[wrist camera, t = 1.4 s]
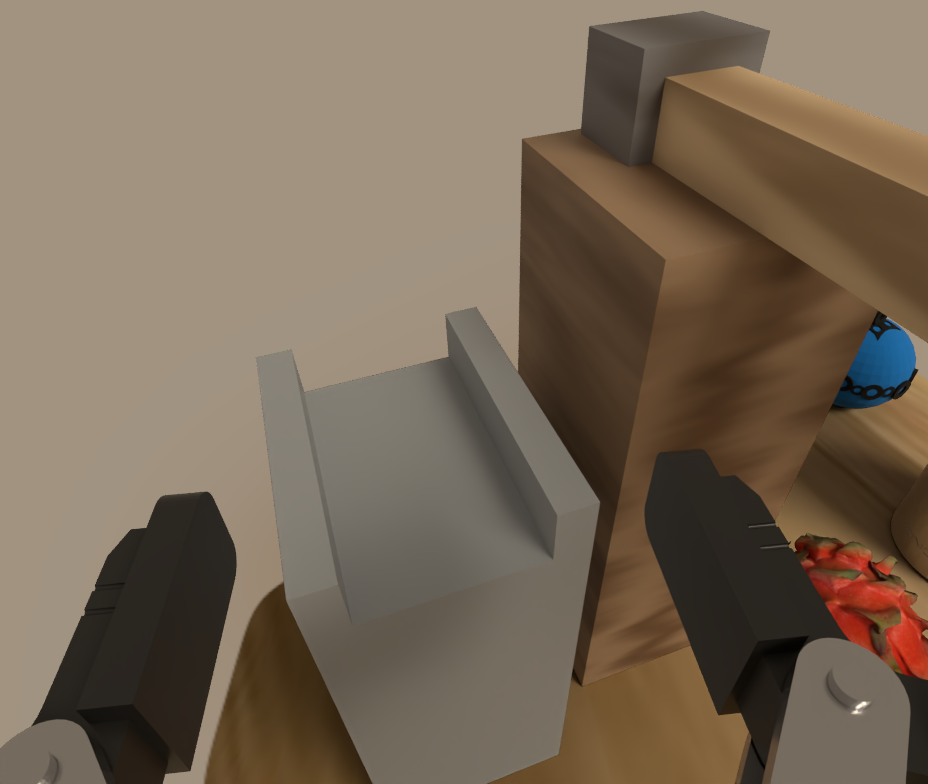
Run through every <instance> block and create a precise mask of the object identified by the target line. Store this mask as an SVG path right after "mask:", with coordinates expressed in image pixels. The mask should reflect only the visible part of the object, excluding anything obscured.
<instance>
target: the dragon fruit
mask: <svg viewBox="0 0 928 784" xmlns="http://www.w3.org/2000/svg"><path fill="white" fill-rule="evenodd" d="M790 543H791V541H790V542H789V543H788V545H789V544H790ZM795 548H796V550H797V551H795V552H794V553H795V555H796V556H797V558H798V560H799V561H800V563H801V564H802V566H803V568H804V569H805V571H806V573H807V574H808V576H809V578H810V579H811V581H812V583H813V584H814V586H815V588H816V589H817V591H818V592H819V594H820V596H821V597H822V599H823V601H824V602H825V604H826V606H827V607H828V609H829V611H830V612H831V614H832V616H833V617H834V619H835V620H836V622H837V624H838V625H839V627H840V628H841V630H842V631H843V633H844V634H845V635H846V636H847V638H848V639H849V640H850V641H851V642H853V643H855V644H858V645H860V646H862V647H864V648H866V649H868V650H869V651H871V652H872V653H874V654H875V655H877V656H878V657H879V658H880V659H881V660H883V661H884V662H885V663H886V664H887V665H888V666H889V667H890V668H891V669H892V670H893V671H896V672H898V673H901V674H904V675H908V676H912V677H916V678H921V679H926V680H928V639H927V638H926V637H925V636H924V635H923V634H922V632H923V631H925V630H926V629H927V630H928V621H927V620H924V619H922V618H920V617H919V616H918V615H917V614H916V613H915V612H914V611H913V610H912V609H911V608H910V605H913V604H914V603H915V602H916V601H917V594H915V593H912V592H909V591H906V590H905V589H906V585H905V583H904V581H902V580H901V578H900V577H898V576H895V575H891V574H890V572H891V570H892V568H893V566H894V564H895V563H898V561H897V560H896V558H894V557H892V556H888V557H886V558H885V559H884V560H882V561H881V562H878V563H875V562H871V560H872V553H871V551H870V550H869V549H868V548H866V547H865V546H863V545H862V544H860V543H856V542H849V543H847V544H844V543H842V542H841V541H839V540H838V539H836V538H828V537H819V536H815V535H812V534H809V533H806V535H805V536H801V537H799V538H798V539H797V540H796V542H795Z"/></svg>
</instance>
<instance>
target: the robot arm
mask: <svg viewBox="0 0 928 784" xmlns="http://www.w3.org/2000/svg"><path fill="white" fill-rule="evenodd" d="M644 517H645V526H646V531H647V535H648V538H649V541H650V543H651V546H652V548H653V551H654V554H655V556H656V559H657V561H658V564H659V566H660V569H661V571H662V574H663V576H664V579H665V581H666V584H667V586H668V589H669V592H670V594H671V597H672V599H673V602H674V604H675V607H676V609H677V612H678V614H679V617H680V619H681V622H682V625H683V627H684V630H685V632H686V635H687V637H688V640H689V642H690V645H691V647H692V650H693V652H694V655H695V657H696V660H697V663H698V665H699V668H700V670H701V673H702V675H703V678H704V680H705V683H706V685H707V688H708V690H709V693H710V695H711V698H712V701H713V703H714V706H715V708H716V711H717V713H718V715H724V714H733V713H741V714H742V716H743V719H744V721H745V723H746V726H747V728H748V730H749V733H748V736H747V738H746V742H745V746H744V750H743V753H742V757H741V761H740V765H739V769H738V773H737V777H736V781H735V784H928V680H926V679H921V678H916V677H912V676H908V675H904V674H901V673H898V672H896V671H893V670H892V669H891V668H890V667H889V666H888V665H887V664H886V663H885V662H884V661H883V660H881V659H880V658H879V657H878V656H877V655H875V654H874V653H872V652H871V651H869V650H868V649H866V648H864V647H862V646H860V645H858V644H855V643H853V642H851V641H850V640H849V639H848V638H847V636H846V635H845V634H844V633H843V631H842V630H841V628H840V627H839V625H838V624H837V622H836V620H835V619H834V617H833V616H832V614H831V612H830V611H829V609H828V607H827V606H826V604H825V602H824V601H823V599H822V597H821V596H820V594H819V592H818V591H817V589H816V588H815V586H814V584H813V583H812V581H811V579H810V578H809V576H808V574H807V573H806V571H805V569H804V568H803V566H802V564H801V563H800V561H799V560H798V558H797V556H796V555H795V553H794V551H793V550H792V548H789V546H788V541H787V540H786V538H785V536H784V535H783V533H782V532H781V530H780V528H779V527H776V525H775V520H774V518H773V517H772V515H771V513H770V512H769V510H768V508H767V507H766V505H765V504H764V502H763V500H762V499H761V497H760V496H759V495H758V494H757V493H756V492H755V491H753V490H752V489H751V488H750V487H749V486H747V485H746V484H745V483H744V482H743V481H742V480H740V479H739V478H738V477H737V476H736V475H731V476H720V475H719V473H718V471H717V469H716V467H715V466H714V464H713V462H712V460H711V459H710V457H709V455H708V454H707V453H706V451H704V450H703V449H691V450H680V451H669V452H660V453H659V454H658V455H657V457H656V461H655V465H654V469H653V473H652V477H651V482H650V486H649V490H648V494H647V499H646V503H645V510H644ZM891 532H892V536H893V538H894V541H895V544H896V546H897V547H898V549H899V550H900V552H901V553H902V555H903V556H904V558H905V559H906V560H907V561H908V562H909V563H910V564H911V565H912V567H913V568H914V569H916V570H917V571H918V572H919V573H920V574H922V575H923V576H924V577H925V578H926V579H928V464H927V466H926V467H925V469H924V470H923V472H922V473H921V474H920V476H919V477H918V478H917V480H916V481H915V483H914V484H913V486H912V487H911V489H910V490H909V492H908V493H907V495H906V496H905V497H904V499H903V500H902V502H901V503H900V505H899V506H898V508H897V509H896V511H895V512H894V513H893V516H892V520H891ZM235 576H236V551H235V547H234V543H233V540H232V538H231V536H230V534H229V532H228V530H227V527H226V525H225V523H224V521H223V518H222V516H221V514H220V512H219V510H218V507H217V505H216V503H215V501H214V499H213V497H212V495H211V494H210V493H209V492H198V493H188V494H176V495H165V496H162V497H161V498H160V499H159V500H158V501H157V503H156V505H155V507H154V510H153V512H152V515H151V518H150V520H149V523H148V525H147V528H141V529H131V530H130V531H129V532H128V533H127V534H126V536H125V537H124V538H123V539H122V540H121V541H120V542H119V544H118V545H117V546H116V547H115V549H114V550H112V552H111V553H110V554H109V555H108V556H107V559H106V561H105V563H104V566H103V568H102V570H101V572H100V575H99V577H98V579H97V582H96V584H95V588H96V589H95V591H92V593H91V596H90V598H89V600H88V603H87V605H86V607H85V615H84V616H81V619H80V621H79V623H78V626H77V628H76V630H75V633H74V635H73V637H72V640H71V642H70V644H69V647H68V649H67V651H66V654H65V656H64V658H63V661H62V663H61V665H60V667H59V670H58V672H57V674H56V677H55V679H54V681H53V684H52V686H51V688H50V690H49V693H48V695H47V697H46V700H45V702H44V704H43V707H42V709H41V711H40V713H39V715H38V717H37V718H36V720H35V721H34V723H33V725H32V726H31V727H29V728H27V729H26V730H24V731H22V732H21V733H19V734H17V735H16V736H15V737H13V738H12V739H11V740H9V741H8V742H7V743H6V744H5V745H3V746H2V747H1V748H0V784H163V780H164V777H165V774H169V773H178V772H187V771H190V770H191V766H192V762H193V758H194V753H195V749H196V745H197V740H198V736H199V732H200V727H201V723H202V719H203V715H204V710H205V705H206V702H207V697H208V693H209V689H210V684H211V680H212V676H213V671H214V667H215V663H216V658H217V654H218V650H219V646H220V641H221V637H222V632H223V628H224V624H225V620H226V615H227V611H228V606H229V602H230V598H231V593H232V589H233V585H234V580H235Z"/></svg>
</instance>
